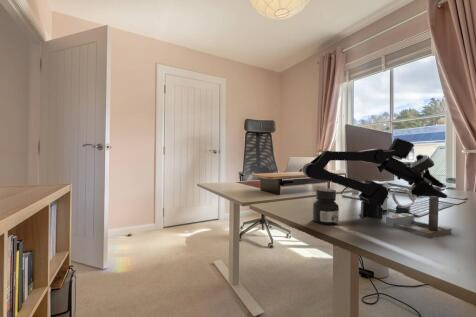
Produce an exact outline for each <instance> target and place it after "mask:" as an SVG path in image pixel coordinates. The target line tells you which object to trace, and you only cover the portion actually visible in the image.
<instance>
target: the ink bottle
mask: <svg viewBox="0 0 476 317" xmlns="http://www.w3.org/2000/svg"><path fill="white" fill-rule="evenodd" d="M315 193H316V194H315V197H316V200H315V201H314V202H313V203H312V221H313V222H314V223H317V224H320V225H324V226H325V225H326V226H330V225H332V226H333V225H337V224H338V223H337V222H339V218H340V217H339V212H340V210H339V208H340V207H339V204H338V203H337V202H336V200H337V198H336V196H337V191H336V190H335V189H332V188H324V187H323V188H317V189H316V191H315Z"/></svg>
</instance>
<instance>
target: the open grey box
mask: <svg viewBox="0 0 476 317" xmlns="http://www.w3.org/2000/svg"><path fill="white" fill-rule="evenodd" d="M411 225H413V226H417V227H422V228H424V229H428V223H425V222H421V221H418V220H415V219H414V220H413V221H412V224H411ZM393 228H396V229H399V230H402V231H406V232H409V233H411V234H415V235H418V236H422V237H425V238H428V239H432V238H433V239H434V238H438V237H441V236H442V237H443V236H446V235H450V234H452V228H446V227H445V228H444V227H440V226H438V228H439V229H443V230H441V231H436V232H432V233H428V232H424V231H421V230H422V229H417V228H413V227H410V226H407V225H400V224H397V223H395V224H394V227H393Z"/></svg>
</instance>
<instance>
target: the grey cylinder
mask: <svg viewBox="0 0 476 317" xmlns="http://www.w3.org/2000/svg"><path fill="white" fill-rule="evenodd" d="M428 197H429V198H428V223H427V224H428V228H424V229H420V230H421V231H424V232H428V233H432V232H436V231H441V230H443V229H439V228H438V227H439V206H440V205H439V204H440V203H439V199H440V198H439V197H436V196H428Z"/></svg>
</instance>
